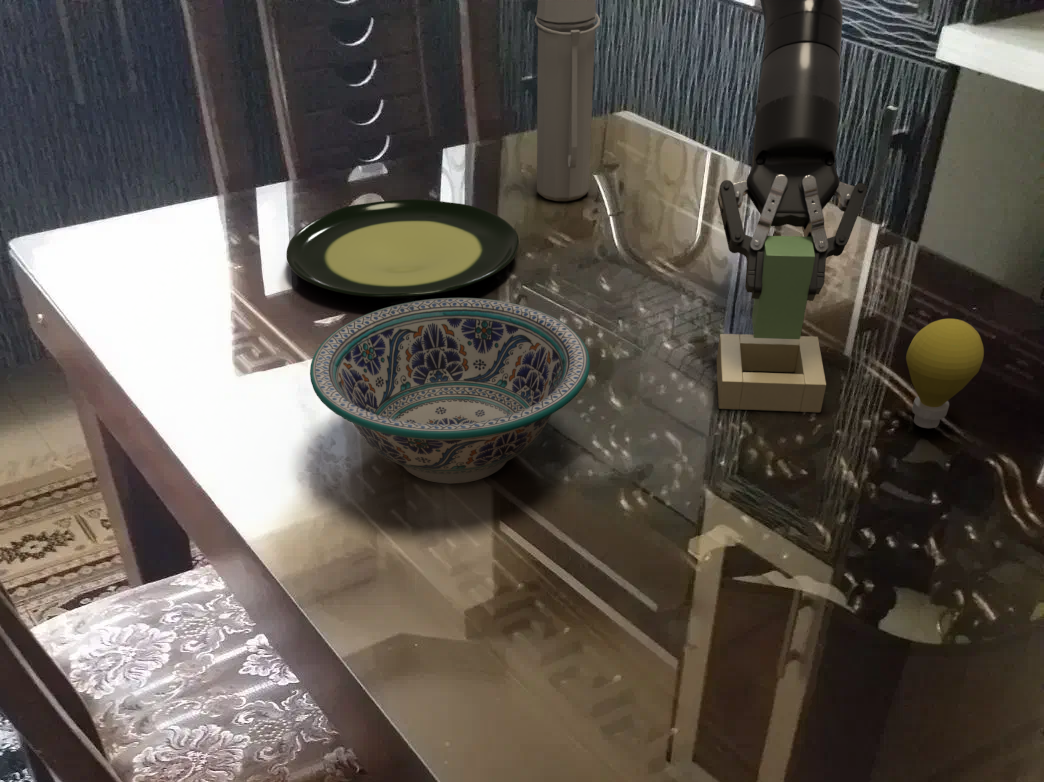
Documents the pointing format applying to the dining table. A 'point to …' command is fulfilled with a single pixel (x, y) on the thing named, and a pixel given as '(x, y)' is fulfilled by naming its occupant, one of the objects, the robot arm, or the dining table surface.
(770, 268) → the post
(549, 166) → the water bottle
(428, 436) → the bowl
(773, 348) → the socket pad
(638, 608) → the dining table surface
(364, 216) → the plate
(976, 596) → the dining table surface
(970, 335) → the light bulb
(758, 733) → the dining table surface
